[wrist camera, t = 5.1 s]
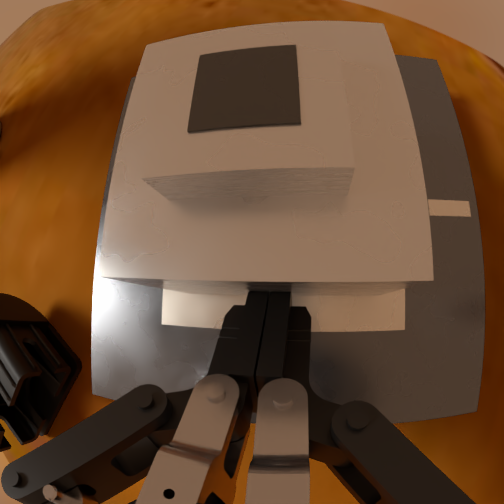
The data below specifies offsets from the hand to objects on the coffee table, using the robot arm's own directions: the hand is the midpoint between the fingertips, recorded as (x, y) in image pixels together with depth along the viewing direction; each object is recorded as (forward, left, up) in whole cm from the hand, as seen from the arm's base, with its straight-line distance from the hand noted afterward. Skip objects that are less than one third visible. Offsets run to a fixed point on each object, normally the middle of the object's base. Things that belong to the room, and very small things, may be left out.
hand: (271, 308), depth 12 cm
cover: (0, +5, -2) cm, 5 cm away
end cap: (-19, -6, -6) cm, 21 cm away
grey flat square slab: (0, +5, -4) cm, 6 cm away
